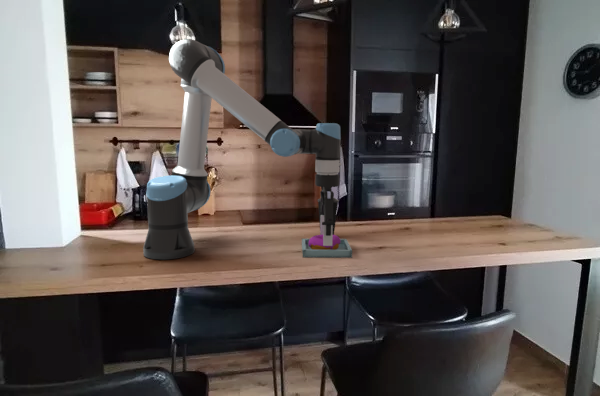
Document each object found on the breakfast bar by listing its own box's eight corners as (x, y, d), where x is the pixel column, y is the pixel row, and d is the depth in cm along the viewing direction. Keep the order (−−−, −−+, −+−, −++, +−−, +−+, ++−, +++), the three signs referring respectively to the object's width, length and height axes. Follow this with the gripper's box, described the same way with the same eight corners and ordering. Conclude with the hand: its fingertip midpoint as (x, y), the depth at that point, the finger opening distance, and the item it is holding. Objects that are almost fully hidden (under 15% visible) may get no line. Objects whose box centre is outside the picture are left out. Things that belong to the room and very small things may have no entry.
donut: (325, 243, 141) (325, 230, 140) (347, 250, 133) (347, 236, 133) (302, 248, 134) (302, 234, 134) (323, 256, 127) (324, 241, 126)
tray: (302, 257, 127) (303, 250, 127) (301, 244, 141) (301, 238, 141) (352, 257, 128) (352, 250, 127) (346, 245, 141) (346, 238, 141)
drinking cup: (336, 240, 148) (337, 184, 144) (315, 238, 149) (316, 183, 146) (338, 235, 155) (340, 181, 152) (318, 233, 157) (319, 180, 153)
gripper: (344, 178, 118) (342, 250, 121) (335, 169, 143) (333, 230, 146) (317, 177, 118) (316, 250, 121) (313, 169, 142) (312, 230, 146)
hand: (325, 239), depth 134 cm, fingers open, 13 cm apart
